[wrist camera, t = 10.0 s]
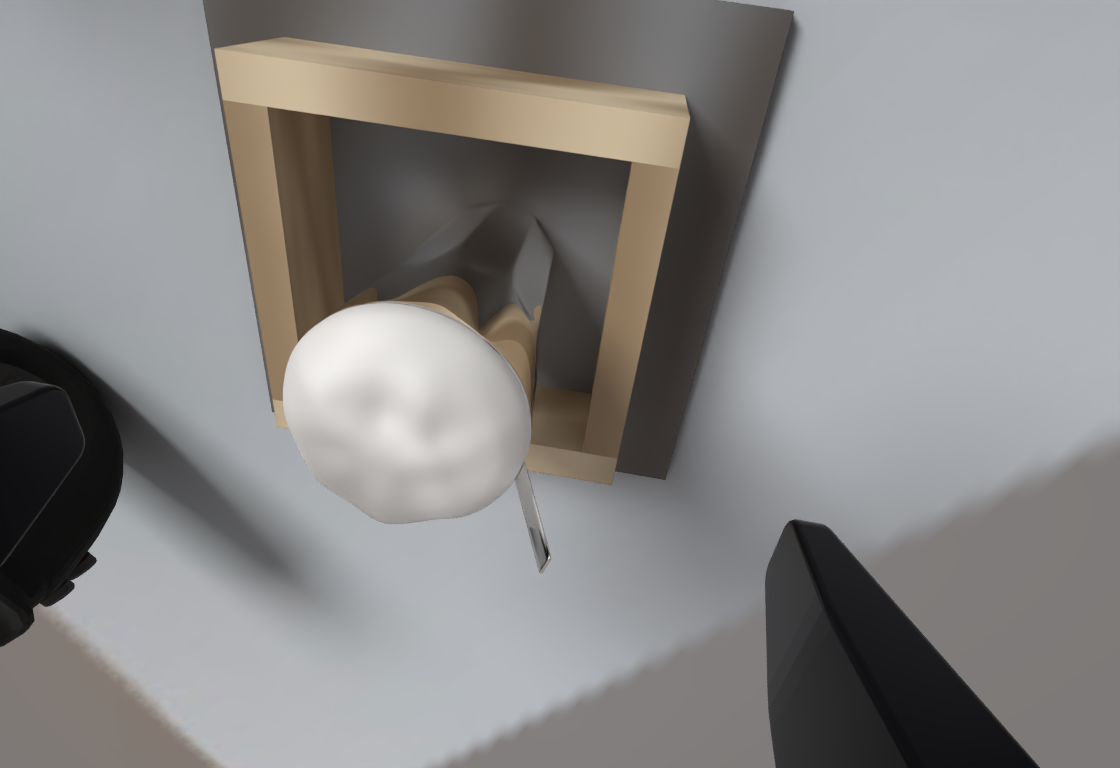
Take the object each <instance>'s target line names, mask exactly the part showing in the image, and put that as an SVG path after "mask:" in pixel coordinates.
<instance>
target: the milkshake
mask: <svg viewBox="0 0 1120 768" xmlns="http://www.w3.org/2000/svg"><path fill="white" fill-rule="evenodd" d="M553 253H554V249H553V247H552V245H551V244H550V242H549V240H548V239H547V237H546V235H545V234H544V232H543V230H542V229H541V227H540V225H539V224H538V222H537V220H536V218H535V217H533V216H531V215H529V214H526V213H524V212H522V211H520V210H518V209H516V208H514V207H512V206H509V205H507V204H505V203H503V202H501V201H500V202H495V203H490V204H485V205H479V206H474V207H468V208H465V209H463V210H462V211H461V212H460V213H458V214H457V215H456V216H455V217H454V218H452V219H451V220H450V221H449V222H448V223H446V224H445V225H444V226H443V227H442V228H440V229H439V230H438V231H437V232H436V233H434V234H433V235H432V236H431V237H429V238H428V239H427V240H426V241H425V242H423V243H422V244H421V245H420V246H419V247H417V248H416V249H415V250H414V251H413V252H411V253H410V254H409V255H408V256H407V257H405V258H404V259H403V260H402V261H401V262H399V263H398V264H397V265H396V266H395V267H393V268H392V269H391V270H389V271H388V272H387V273H386V274H384V275H383V276H382V277H380V278H379V279H377V280H376V281H375V282H373V283H372V284H371V285H369V286H368V287H367V288H365V289H364V290H363V291H361V292H360V293H358V294H357V295H356V296H354V297H353V298H352V299H350V300H349V301H348V302H346V303H345V304H344V305H342V306H341V307H339V308H338V309H337V310H335V311H334V312H333V313H331V314H330V315H329V316H327V317H326V318H325V319H323V320H322V321H321V322H320V323H318V324H317V325H315V326H314V327H313V328H312V329H311V330H309V331H308V332H307V333H306V334H305V335H304V336H303V337H302V338H301V339H300V341H299V342H298V343H297V345H296V346H295V348H294V349H293V351H292V353H291V356H290V358H289V361H288V364H287V367H286V372H285V377H284V384H283V407H284V414H285V418H286V421H287V424H288V427H289V429H290V432H291V434H292V436H293V438H294V440H295V442H296V444H297V446H298V448H299V450H300V453H301V455H302V457H303V459H304V461H305V463H306V464H307V466H308V468H309V470H310V471H311V473H312V474H313V476H314V477H315V478H316V479H317V480H318V481H319V482H320V483H321V484H322V485H323V486H324V487H326V488H327V489H328V490H330V491H331V492H333V493H335V494H336V495H338V496H340V497H341V498H343V499H344V500H346V501H348V502H349V503H351V504H352V505H354V506H355V507H357V508H358V509H360V510H361V511H362V512H364V513H365V514H367V515H368V516H370V517H371V518H373V519H375V520H377V521H380V522H383V523H387V524H404V523H413V522H421V521H427V520H434V519H450V518H458V517H463V516H467V515H470V514H472V513H475V512H477V511H479V510H481V509H483V508H485V507H487V506H488V505H490V504H491V503H492V502H494V501H495V500H496V499H498V498H499V497H500V496H501V495H502V494H503V493H504V492H505V491H506V490H507V489H508V488H509V486H510V485H511V484H512V483H513V482H514V480H515V482H516V485H517V489H518V493H519V497H520V501H521V505H522V509H523V513H524V517H525V520H526V524H527V528H528V532H529V536H530V540H531V544H532V548H533V552H534V556H535V559H536V563H537V567H538V570H539V573H543V571H544V570H545V568H546V567H547V565H548V564H549V562H550V560H551V555H550V550H549V547H548V543H547V539H546V536H545V532H544V529H543V525H542V521H541V518H540V514H539V511H538V507H537V503H536V500H535V496H534V493H533V489H532V485H531V482H530V478H529V475H528V471H527V467H526V464H525V460H526V457H527V454H528V450H529V446H530V441H531V431H532V422H533V413H534V404H535V395H536V386H537V376H538V364H539V349H540V343H541V337H542V331H543V325H544V320H545V314H546V308H547V302H548V297H549V291H550V285H551V273H552V263H553Z"/></svg>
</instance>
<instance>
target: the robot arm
mask: <svg viewBox="0 0 1120 768" xmlns="http://www.w3.org/2000/svg"><path fill="white" fill-rule="evenodd" d="M84 446H85V438H84V434H83V432H82V429H81V427H80V424H79V421H78V419H77V416H76V414H75V411H74V409H73V406H72V404H71V401H70V399H69V397H68V395H67V393H66V392H65V391H64V390H63V389H62V388H60V387H58V386H55V385H49V384H44V383H38V382H32V381H23V382H18V383H14V384H10V385H7V386H3V387H0V566H1V565H2V564H3V563H4V562H5V560H6V559H7V558H8V557H9V555H10V554H11V553H12V551H13V550H14V549H15V547H16V546H17V545H18V543H19V542H20V541H21V539H22V538H23V536H24V535H25V534H26V532H27V531H28V529H29V528H30V527H31V525H32V524H33V522H34V521H35V520H36V518H37V517H38V516H39V514H40V513H41V511H42V510H43V509H44V507H45V506H46V504H47V503H48V502H49V500H50V499H51V497H52V496H53V495H54V493H55V492H56V490H57V489H58V488H59V486H60V485H61V483H62V482H63V481H64V479H65V478H66V476H67V475H68V474H69V472H70V471H71V470H72V468H73V467H74V465H75V464H76V463H77V461H78V460H79V458H80V457H81V455H82V453H83V450H84ZM765 602H766V643H767V687H768V710H769V719H770V728H771V736H772V743H773V750H774V758H775V765H776V768H1040V767H1039V766H1038V765H1037V764H1036V763H1035V762H1034V760H1033V759H1032V758H1031V757H1030V756H1029V755H1028V753H1027V752H1026V751H1025V750H1024V749H1023V748H1022V747H1021V746H1020V744H1019V743H1018V742H1017V741H1016V740H1015V739H1014V738H1013V736H1012V735H1011V734H1010V733H1009V732H1008V731H1007V730H1006V728H1005V727H1004V726H1003V725H1002V724H1001V723H1000V722H999V720H998V719H997V718H996V717H995V716H994V715H993V714H992V712H991V711H990V710H989V709H988V708H987V707H986V706H985V705H984V703H983V702H982V701H981V700H980V699H979V698H978V697H977V695H976V694H975V693H974V692H973V691H972V690H971V689H970V688H969V686H968V685H967V684H966V683H965V682H964V681H963V679H962V678H961V677H960V676H959V675H958V674H957V673H956V671H955V670H954V669H953V668H952V667H951V666H950V665H949V663H948V662H947V661H946V660H945V659H944V658H943V657H942V656H941V654H940V653H939V652H938V651H937V650H936V649H935V648H934V646H933V645H932V644H931V643H930V642H929V641H928V640H927V638H926V637H925V636H924V635H923V634H922V633H921V632H920V631H919V629H918V628H917V627H916V626H915V625H914V624H913V623H912V621H911V620H910V619H909V618H908V617H907V616H906V615H905V613H904V612H903V611H902V610H901V609H900V608H899V607H898V605H897V604H896V603H895V602H894V601H893V600H892V599H891V598H890V596H889V595H888V594H887V593H886V592H885V591H884V590H883V588H882V587H881V586H880V585H879V584H878V583H877V582H876V580H875V579H874V578H873V577H872V576H871V575H870V574H869V572H868V571H867V570H866V569H865V568H864V567H863V566H862V564H861V563H860V562H859V561H858V560H857V559H856V558H855V556H854V555H853V554H852V553H851V552H850V551H849V550H848V548H847V547H846V546H845V545H844V544H843V543H842V542H841V540H840V539H839V538H838V537H837V536H836V535H835V534H834V533H833V531H832V530H831V529H830V528H828V527H827V526H826V525H823V524H819V523H814V522H808V521H803V520H797V519H794V520H791V521H789V522H788V523H787V525H786V526H785V528H784V530H783V532H782V534H781V537H780V539H779V541H778V544H777V546H776V548H775V550H774V553H773V555H772V557H771V559H770V562H769V564H768V567H767V571H766V578H765Z"/></svg>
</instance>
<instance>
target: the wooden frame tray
mask: <svg viewBox="0 0 1120 768" xmlns="http://www.w3.org/2000/svg"><path fill="white" fill-rule="evenodd" d="M203 4H204V10H205V16H206V22H207V28H208V34H209V40H210V46H211V52H212V58H213V64H214V70H215V76H216V81H217V87H218V93H219V99H220V105H221V111H222V117H223V123H224V129H225V135H226V141H227V147H228V153H229V158H230V164H231V170H232V176H233V182H234V188H235V194H236V200H237V206H238V212H239V218H240V224H241V230H242V236H243V241H244V247H245V253H246V259H247V265H248V271H249V277H250V283H251V289H252V295H253V301H254V307H255V313H256V319H257V324H258V330H259V336H260V342H261V348H262V354H263V360H264V366H265V372H266V378H267V384H268V390H269V396H270V401H271V407H272V412H275V418H276V424H277V427H280V428H286V429H289V427H288V424H287V421H286V418H285V414H284V407H283V384H284V377H285V372H286V367H287V364H288V361H289V358H290V356H291V353H292V351H293V349H294V348H295V346H296V345H297V343H298V342H299V341H300V339H301V338H302V337H303V336H304V335H305V334H306V333H307V332H308V331H309V330H311V329H312V328H313V327H314V326H315V325H317V324H318V323H320V322H321V321H322V320H323V319H325V318H326V317H327V316H329V315H330V314H331V313H333V312H334V311H335V310H337V309H338V308H339V307H341V306H342V305H344V304H345V303H346V302H348V301H349V300H350V299H352V298H353V297H354V296H356V295H357V294H358V293H360V292H361V291H363V290H364V289H365V288H367V287H368V286H369V285H371V284H372V283H373V282H375V281H376V280H377V279H379V278H380V277H382V276H383V275H384V274H386V273H387V272H388V271H389V270H391V269H392V268H393V267H395V266H396V265H397V264H398V263H399V262H401V261H402V260H403V259H404V258H405V257H407V256H408V255H409V254H410V253H411V252H413V251H414V250H415V249H416V248H417V247H419V246H420V245H421V244H422V243H423V242H425V241H426V240H427V239H428V238H429V237H431V236H432V235H433V234H434V233H436V232H437V231H438V230H439V229H440V228H442V227H443V226H444V225H445V224H446V223H448V222H449V221H450V220H451V219H452V218H454V217H455V216H456V215H457V214H458V213H460V212H461V211H462V210H463V209H465V208H468V207H474V206H479V205H485V204H490V203H495V202H500V201H501V202H503V203H505V204H507V205H509V206H512V207H514V208H516V209H518V210H520V211H522V212H524V213H526V214H529V215H531V216H533V217H535V218H536V220H537V222H538V224H539V225H540V227H541V229H542V230H543V232H544V234H545V235H546V237H547V239H548V240H549V242H550V244H551V245H552V247H553V249H554V253H553V263H552V273H551V285H550V291H549V297H548V302H547V308H546V314H545V320H544V325H543V331H542V337H541V343H540V349H539V364H538V376H537V386H536V395H535V404H534V413H533V422H532V431H531V441H530V446H529V450H528V454H527V457H526V460H525V464H526V467H527V471H533V472H539V473H545V474H550V475H556V476H562V477H568V478H573V479H579V480H585V481H591V482H596V483H602V484H608V485H612V482H613V477H614V472H615V471H617V472H623V473H629V474H634V475H640V476H646V477H652V478H658V479H663V480H665V479H666V476H667V472H668V468H669V465H670V461H671V457H672V454H673V450H674V446H675V443H676V439H677V436H678V432H679V428H680V425H681V421H682V417H683V414H684V410H685V406H686V403H687V399H688V395H689V392H690V388H691V385H692V381H693V377H694V374H695V370H696V366H697V363H698V359H699V355H700V352H701V348H702V345H703V341H704V337H705V334H706V330H707V326H708V323H709V319H710V315H711V312H712V308H713V305H714V301H715V297H716V294H717V290H718V286H719V283H720V279H721V275H722V272H723V268H724V264H725V261H726V257H727V254H728V250H729V246H730V243H731V239H732V235H733V232H734V228H735V224H736V221H737V217H738V214H739V210H740V206H741V203H742V199H743V195H744V192H745V188H746V184H747V181H748V177H749V173H750V170H751V166H752V163H753V159H754V155H755V152H756V148H757V144H758V141H759V137H760V133H761V130H762V126H763V123H764V119H765V115H766V112H767V108H768V104H769V101H770V97H771V93H772V90H773V86H774V82H775V79H776V75H777V72H778V68H779V64H780V61H781V57H782V53H783V50H784V46H785V42H786V39H787V35H788V32H789V28H790V24H791V21H792V17H793V13H794V11H791V10H784V9H777V8H769V7H762V6H755V5H748V4H740V3H733V2H726V1H719V0H203Z"/></svg>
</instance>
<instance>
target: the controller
mask: <svg viewBox="0 0 1120 768" xmlns="http://www.w3.org/2000/svg"><path fill="white" fill-rule="evenodd" d="M23 381H32V382H38V383H44V384H49V385H55V386H58V387H60V388H62V389H63V390H64V391H65V392H66V393H67V395H68V397H69V399H70V401H71V404H72V406H73V409H74V411H75V414H76V416H77V419H78V421H79V424H80V427H81V429H82V432H83V434H84V438H85V446H84V450H83V453H82V455H81V457H80V458H79V460H78V461H77V463H76V464H75V465H74V467H73V468H72V470H71V471H70V472H69V474H68V475H67V476H66V478H65V479H64V481H63V482H62V483H61V485H60V486H59V488H58V489H57V490H56V492H55V493H54V495H53V496H52V497H51V499H50V500H49V502H48V503H47V504H46V506H45V507H44V509H43V510H42V511H41V513H40V514H39V516H38V517H37V518H36V520H35V521H34V522H33V524H32V525H31V527H30V528H29V529H28V531H27V532H26V534H25V535H24V536H23V538H22V539H21V541H20V542H19V543H18V545H17V546H16V547H15V549H14V550H13V551H12V553H11V554H10V555H9V557H8V558H7V559H6V560H5V562H4V563H3V564H2V565H1V566H0V647H1V646H4V645H6V644H7V643H9V642H11V641H12V640H14V639H15V638H17V637H19V636H20V635H22V634H23V633H25V632H26V630H28V629H29V628H30V626H31V625H32V623H33V622H34V614H33V608H34V607H35V606H37V605H38V604H39V603H40V604H42V605H43V606H45V607H48V606H51V605H53V604H55V603H56V602H58V601H59V600H61V599H63V598H64V597H65V596H66V595H68V594H69V593H70V592H71V591H72V590H73V589H74V587H75V586H74V583H73V582H72V581H70V580H73V579H75V578H77V577H79V576H80V575H82V574H83V573H85V572H86V571H87V570H89V569H90V568H91V567H92V566H93V565H94V564H95V563H96V561H97V560H96V558H95V557H94V556H93V555H91V554H90V553H89V552H88V550H89V548H90V547H91V546H92V544H93V543H94V541H95V540H96V538H97V537H98V536H99V534H100V532H101V530H102V529H103V527H104V525H105V523H106V521H107V520H108V518H109V516H110V514H111V512H112V511H113V509H114V507H115V505H116V502H117V499H118V496H119V493H120V490H121V484H122V478H123V449H122V443H121V438H120V435H119V432H118V430H117V427H116V424H115V422H114V419H113V417H112V414H111V413H110V411H109V409H108V407H107V405H106V404H105V403H104V401H103V400H102V398H101V397H100V395H99V394H98V393H97V391H96V390H95V389H94V388H93V387H92V386H91V385H90V383H89V382H88V381H87V380H86V379H85V378H84V377H83V376H82V375H81V374H80V373H79V372H78V371H77V370H75V369H74V368H73V367H72V366H70V365H69V364H68V363H67V362H65V361H64V360H63V359H61V358H60V357H59V356H57V355H56V354H54V353H52V352H51V351H49V350H47V349H46V348H44V347H43V346H41V345H39V344H36V343H34V342H32V341H30V340H28V339H26V338H24V337H22V336H20V335H18V334H15V333H12V332H9V331H6V330H3V329H0V387H3V386H7V385H10V384H14V383H18V382H23Z"/></svg>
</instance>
